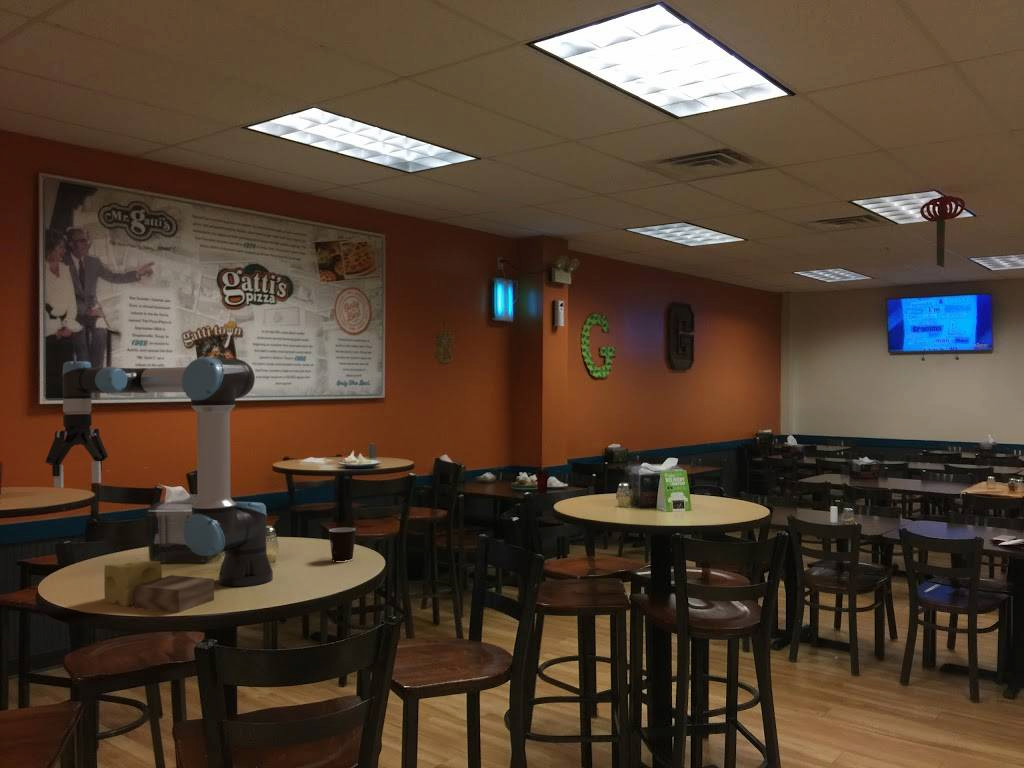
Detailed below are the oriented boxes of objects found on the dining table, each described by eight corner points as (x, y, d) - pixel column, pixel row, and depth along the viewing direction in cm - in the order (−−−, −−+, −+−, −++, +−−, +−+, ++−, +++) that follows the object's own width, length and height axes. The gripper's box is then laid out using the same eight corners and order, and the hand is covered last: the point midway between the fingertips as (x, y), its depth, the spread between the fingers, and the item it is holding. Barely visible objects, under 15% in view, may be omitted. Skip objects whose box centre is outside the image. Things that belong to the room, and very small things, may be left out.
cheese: (126, 607, 215) (126, 568, 215) (102, 602, 221) (101, 564, 221) (162, 598, 224) (162, 561, 224) (137, 593, 230) (137, 557, 230)
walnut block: (213, 601, 222) (213, 578, 222) (179, 613, 210) (178, 589, 210) (171, 597, 226) (171, 575, 227) (134, 609, 214) (134, 585, 214)
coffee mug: (353, 563, 268) (352, 532, 268) (326, 563, 268) (326, 532, 268) (360, 556, 280) (359, 526, 280) (334, 556, 280) (334, 526, 280)
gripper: (100, 412, 261) (101, 480, 261) (31, 414, 237) (31, 489, 237) (119, 412, 259) (120, 480, 258) (51, 414, 235) (52, 490, 235)
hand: (78, 485), depth 248 cm, fingers open, 13 cm apart
